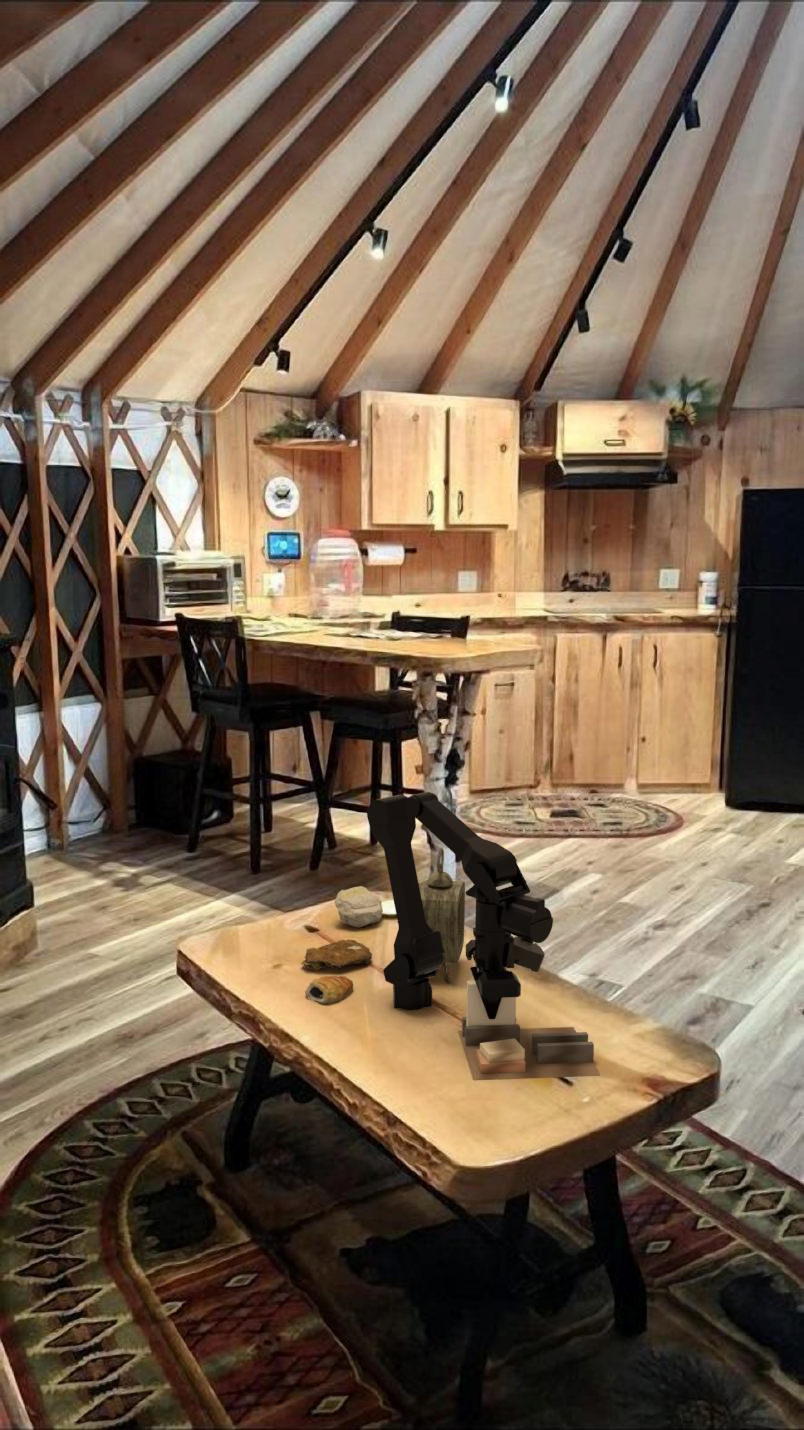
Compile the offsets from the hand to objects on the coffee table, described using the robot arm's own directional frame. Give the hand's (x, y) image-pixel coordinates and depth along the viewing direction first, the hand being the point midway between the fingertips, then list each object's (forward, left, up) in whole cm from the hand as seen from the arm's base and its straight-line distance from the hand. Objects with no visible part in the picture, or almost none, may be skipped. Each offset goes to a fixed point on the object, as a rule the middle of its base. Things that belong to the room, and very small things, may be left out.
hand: (490, 1016), depth 170 cm
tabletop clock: (-5, +33, -6) cm, 34 cm away
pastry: (-27, +23, -6) cm, 36 cm away
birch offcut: (0, -9, -2) cm, 9 cm away
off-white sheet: (0, 0, -4) cm, 4 cm away
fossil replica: (-19, +62, -6) cm, 65 cm away
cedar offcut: (0, -9, -4) cm, 10 cm away
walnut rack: (+5, -5, -6) cm, 9 cm away
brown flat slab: (-25, +39, -6) cm, 46 cm away
